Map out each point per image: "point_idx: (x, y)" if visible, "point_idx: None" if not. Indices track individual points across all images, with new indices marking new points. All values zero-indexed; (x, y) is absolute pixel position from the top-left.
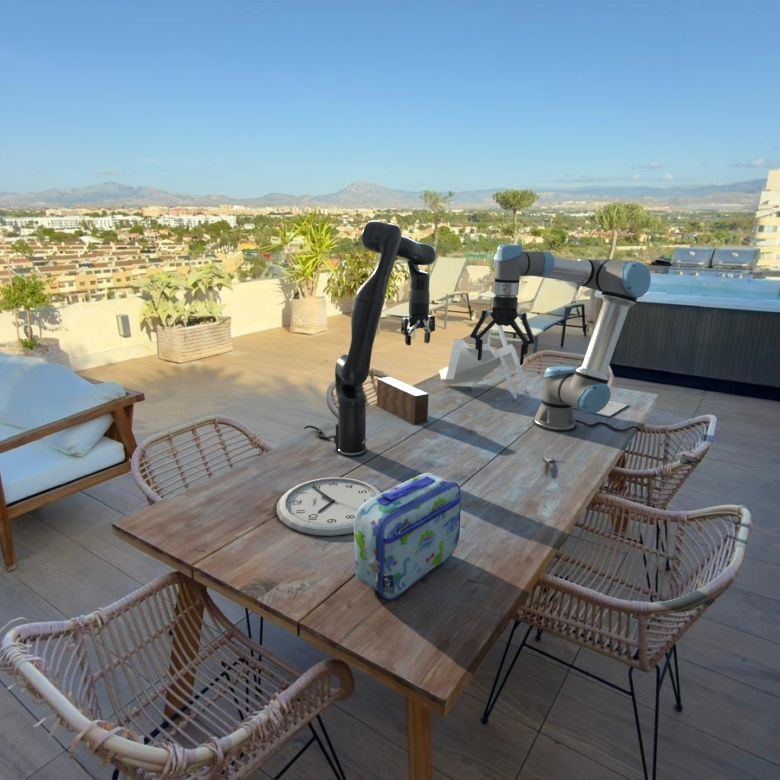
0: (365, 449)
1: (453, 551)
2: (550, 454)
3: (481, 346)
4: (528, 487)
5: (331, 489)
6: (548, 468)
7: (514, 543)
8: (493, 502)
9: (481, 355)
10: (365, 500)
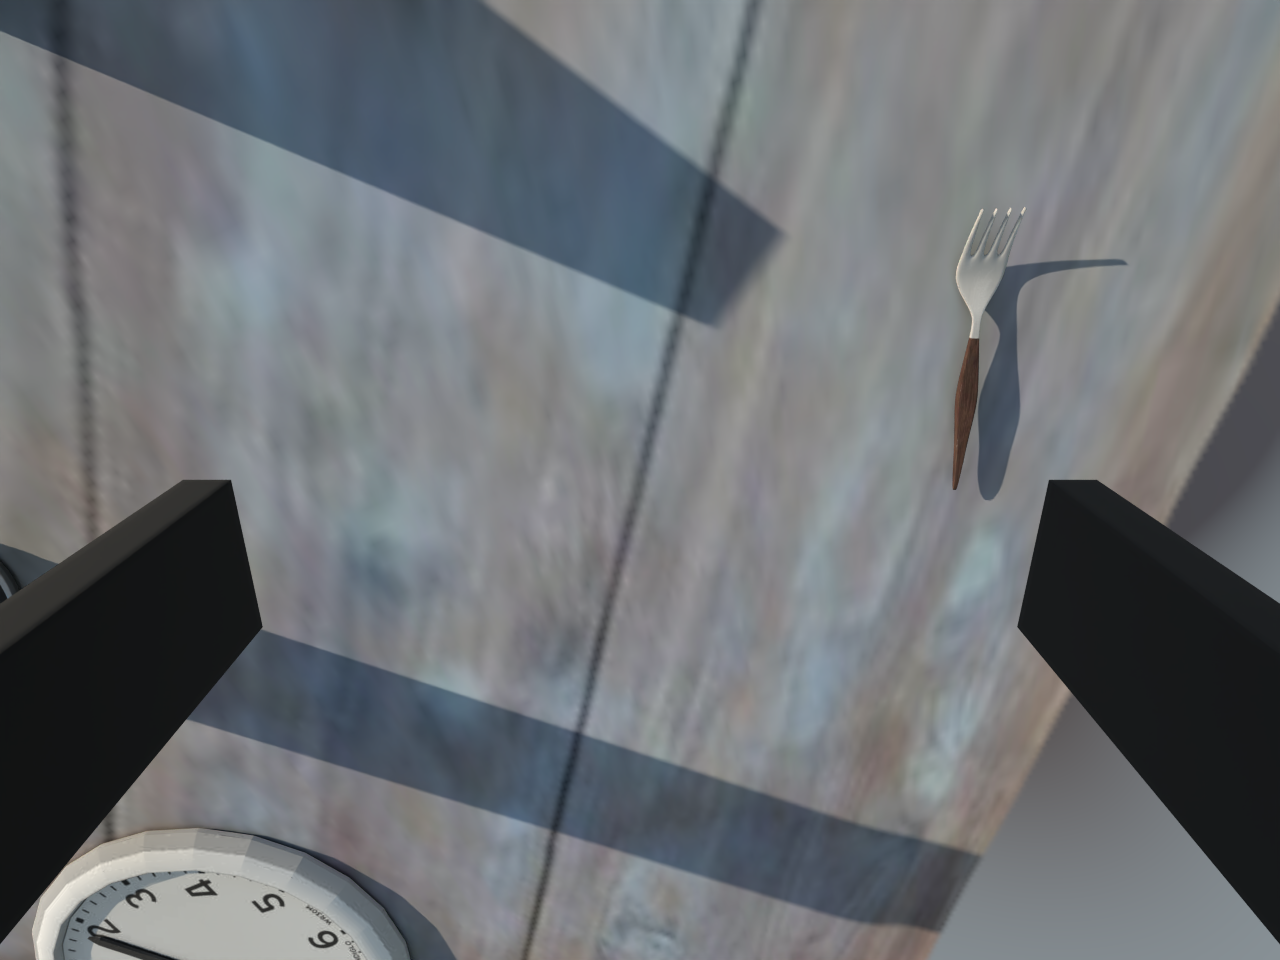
0: (5, 584)
1: None
2: (999, 237)
3: (58, 754)
4: (867, 623)
5: (161, 924)
6: (971, 420)
7: (834, 951)
8: (737, 778)
9: (195, 538)
10: (314, 941)
